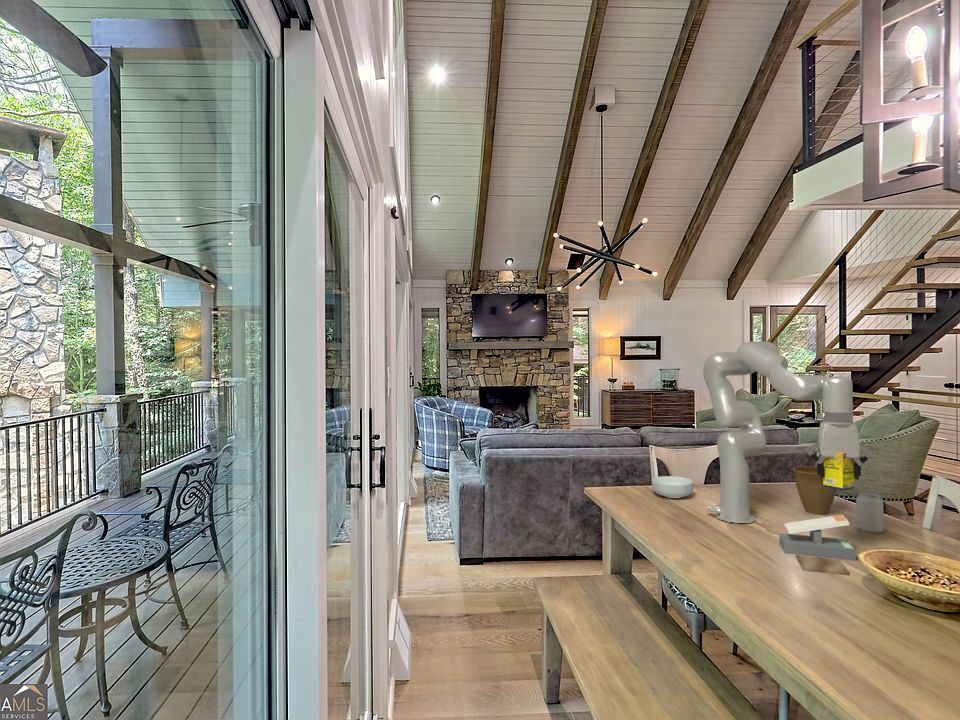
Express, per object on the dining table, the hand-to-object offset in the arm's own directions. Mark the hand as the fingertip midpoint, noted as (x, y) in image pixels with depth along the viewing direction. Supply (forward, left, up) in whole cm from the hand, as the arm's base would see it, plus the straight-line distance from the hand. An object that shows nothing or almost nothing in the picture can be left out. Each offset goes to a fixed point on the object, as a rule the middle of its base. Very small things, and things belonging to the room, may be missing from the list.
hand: (838, 477), depth 166 cm
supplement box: (0, 0, -3) cm, 3 cm away
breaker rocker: (-6, 0, -14) cm, 16 cm away
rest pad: (-7, -13, -22) cm, 27 cm away
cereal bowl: (-48, +57, -23) cm, 78 cm away
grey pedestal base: (-6, 0, -22) cm, 23 cm away
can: (+15, +29, -23) cm, 39 cm away
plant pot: (+3, +49, -23) cm, 54 cm away
